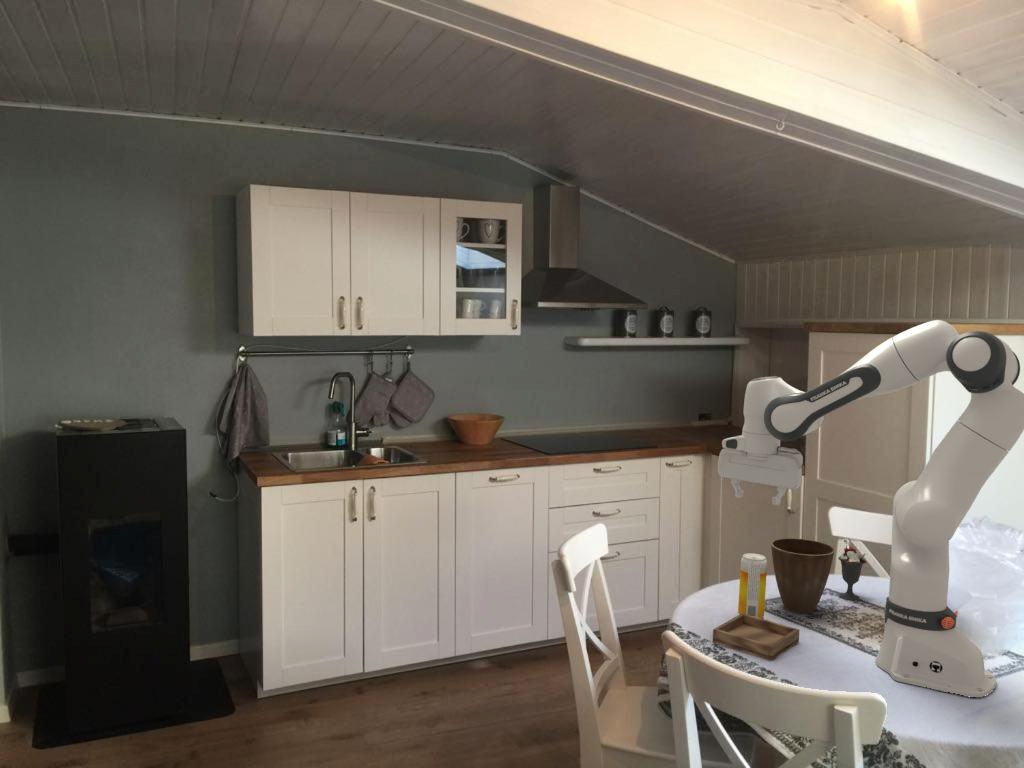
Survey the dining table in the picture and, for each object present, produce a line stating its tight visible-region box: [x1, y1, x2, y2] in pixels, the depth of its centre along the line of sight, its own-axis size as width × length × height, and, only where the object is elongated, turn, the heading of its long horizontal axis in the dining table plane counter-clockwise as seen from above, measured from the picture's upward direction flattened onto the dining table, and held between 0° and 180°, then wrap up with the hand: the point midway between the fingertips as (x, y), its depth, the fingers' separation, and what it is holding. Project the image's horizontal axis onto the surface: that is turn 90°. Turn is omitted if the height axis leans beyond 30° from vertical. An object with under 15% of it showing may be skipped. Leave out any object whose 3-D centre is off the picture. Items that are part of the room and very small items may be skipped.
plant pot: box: [770, 537, 835, 615], centre depth 215 cm, size 15×15×16 cm
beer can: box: [737, 552, 768, 619], centre depth 209 cm, size 6×6×15 cm
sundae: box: [837, 539, 867, 601], centre depth 225 cm, size 7×7×15 cm
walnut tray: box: [712, 613, 801, 662], centre depth 193 cm, size 14×14×3 cm
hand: (757, 501), depth 206 cm, fingers open, 8 cm apart
